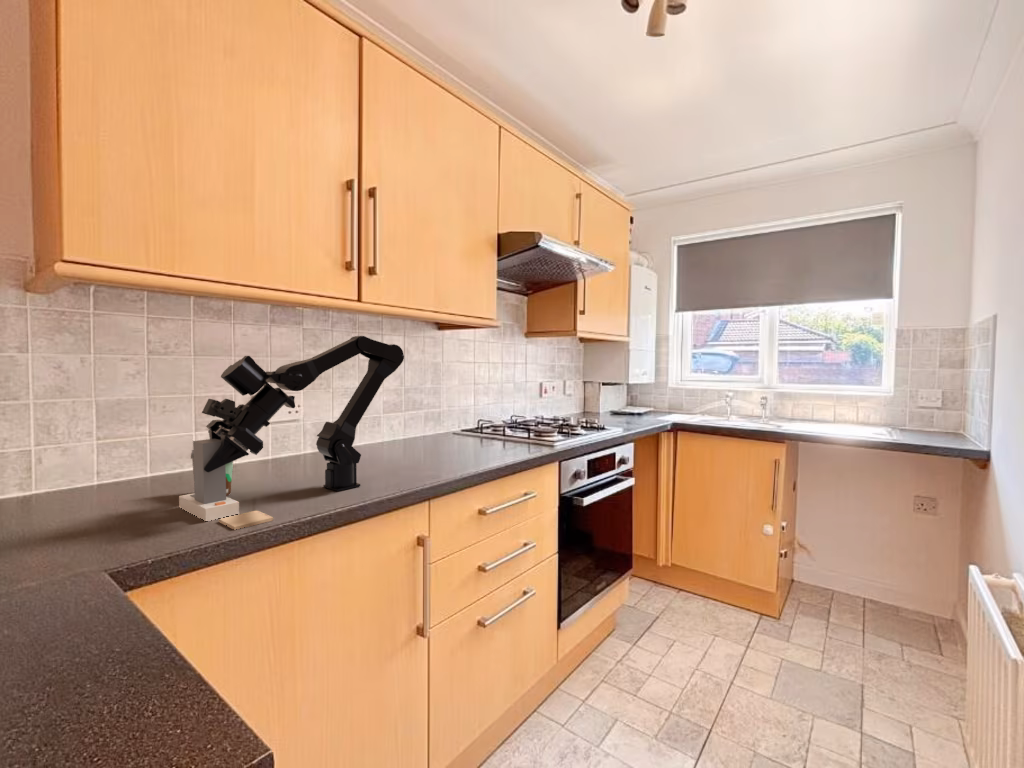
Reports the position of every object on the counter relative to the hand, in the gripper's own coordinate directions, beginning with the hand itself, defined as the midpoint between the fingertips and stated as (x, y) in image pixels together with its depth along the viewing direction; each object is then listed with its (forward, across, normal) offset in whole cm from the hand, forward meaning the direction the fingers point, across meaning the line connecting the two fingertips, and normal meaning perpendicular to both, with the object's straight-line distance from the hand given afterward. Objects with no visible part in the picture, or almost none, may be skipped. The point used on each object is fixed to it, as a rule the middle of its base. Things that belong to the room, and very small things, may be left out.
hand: (201, 468), depth 98 cm
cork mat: (+3, +11, +10) cm, 15 cm away
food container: (+2, -15, +12) cm, 19 cm away
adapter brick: (+4, 0, +6) cm, 7 cm away
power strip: (+6, -3, +7) cm, 10 cm away
